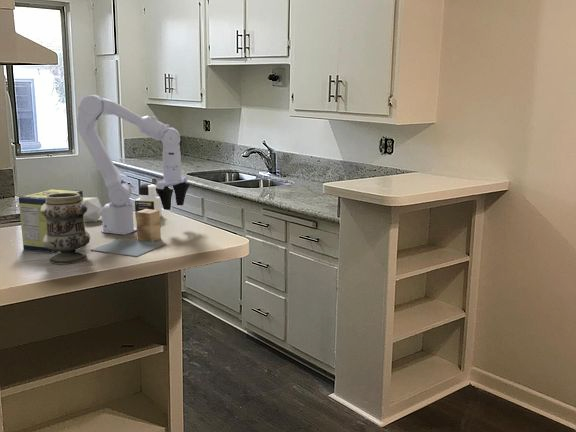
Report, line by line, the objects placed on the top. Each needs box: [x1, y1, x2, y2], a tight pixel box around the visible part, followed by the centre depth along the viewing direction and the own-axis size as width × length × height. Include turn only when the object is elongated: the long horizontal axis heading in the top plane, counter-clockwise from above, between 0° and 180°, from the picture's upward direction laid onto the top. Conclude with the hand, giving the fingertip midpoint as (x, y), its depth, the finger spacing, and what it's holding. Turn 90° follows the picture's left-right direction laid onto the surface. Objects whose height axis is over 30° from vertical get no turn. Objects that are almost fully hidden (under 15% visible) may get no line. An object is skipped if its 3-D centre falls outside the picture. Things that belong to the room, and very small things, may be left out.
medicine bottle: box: [134, 183, 163, 218], centre depth 211 cm, size 7×7×12 cm
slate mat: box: [90, 237, 167, 258], centre depth 174 cm, size 16×14×1 cm
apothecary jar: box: [41, 192, 91, 265], centre depth 161 cm, size 12×12×18 cm
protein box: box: [18, 188, 86, 253], centre depth 176 cm, size 10×16×16 cm
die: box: [83, 197, 103, 223], centre depth 207 cm, size 8×9×10 cm
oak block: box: [135, 209, 162, 242], centre depth 182 cm, size 5×5×9 cm
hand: (173, 207), depth 194 cm, fingers open, 7 cm apart
